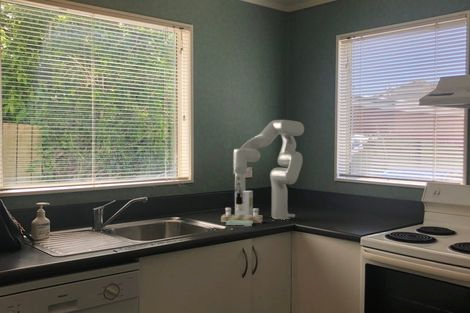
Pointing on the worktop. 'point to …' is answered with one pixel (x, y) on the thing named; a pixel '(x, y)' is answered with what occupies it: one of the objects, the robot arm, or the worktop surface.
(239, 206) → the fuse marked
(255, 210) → the fuse
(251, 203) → the supplement box
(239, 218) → the fuse block
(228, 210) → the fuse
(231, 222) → the tray
